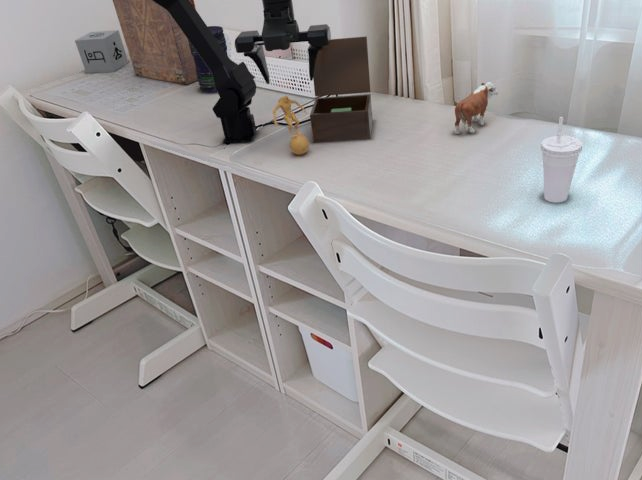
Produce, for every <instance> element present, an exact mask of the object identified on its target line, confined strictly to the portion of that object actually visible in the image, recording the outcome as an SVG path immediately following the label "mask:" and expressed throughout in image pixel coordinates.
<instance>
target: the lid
mask: <svg viewBox="0 0 642 480" xmlns="http://www.w3.org/2000/svg"><path fill="white" fill-rule="evenodd" d="M312 81H313V89H314V90H313V91H314V97H329V96H342V95H356V94H369V93H371V77H370V65H369V49H368V36H366V35H365V36H354V37H344V38H342V37H341V38H331V39H330V42H329V45H326V46H324V47H323V49H322V50H319V51H318V54H317V58H316V63H315V69H314V75H313V80H312Z"/></svg>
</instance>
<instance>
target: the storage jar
mask: <svg viewBox="0 0 642 480" xmlns="http://www.w3.org/2000/svg"><path fill="white" fill-rule="evenodd" d="M207 27H208V28H209V30H210V31H211V33H212V34H213V35H214V37H215V38H216V40H217V41H218V43H219V44H220V46H221V47H222V49H223V50H224V51H225V53H226V54H227V56H228V57H229V55H228V45H227V40H226V37H225V33H224V28H223V26H219V25H210V26H208V25H207ZM188 42H189V47H190V50H191V54H192V56H193V58H194V62H195V66H196V75H197V82H198V85H199V90H200V92H201V93H204V94H218V93H217V91H216V89H215V85H214V81H213V76H212V73H211V71H210V70H209V68H208V67H207V65H206V64H205V63H204V61H203V60H202V58H201V57H200V56H199V54H198V53H197V51H196V50H195V49H194V47H193V46H192V44H191V43H190V41H189V40H188Z"/></svg>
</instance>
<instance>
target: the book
mask: <svg viewBox="0 0 642 480" xmlns="http://www.w3.org/2000/svg"><path fill="white" fill-rule="evenodd" d="M189 1H190V2H191V4H192V5H193V6H194V8H195V9H196V10H197V8H196V4H195V0H189ZM112 2H113V6H114V9H115V13H116V16H117V19H118V22H119V25H120V29H121V32H122V37H123V39H124V42H125V45H126V48H127V51H128V55H129V58H130V61H131V65H132V67H133V71H134V74H135V76H136V77H141V78H142V77H143V78H148V79H153V80H159V81H165V82H168V83H169V82H170V83H176V84H181V85H190V84H193V83H194V82H198V80H197V75H196V66H195V62H194V58H193V56H192V54H191V50H190V47H189V42H188V39H187V37H186V36H185V34H184V33H183V32H182V30H181V29H180V27H179V26H178V25H177V23H176V22H175V20H174V19H173V18H172V16H171V15H170V13H169V12H168V11H167V10H166V9H164V8H163V7H161V6H160V5H158V4H157V3H155V2H154V1H152V0H112Z"/></svg>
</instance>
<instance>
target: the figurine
mask: <svg viewBox="0 0 642 480" xmlns="http://www.w3.org/2000/svg"><path fill="white" fill-rule="evenodd" d="M292 104H296V105H297V107H299V108H300V109H301V110H303V112H304V113H305V114H307V111H306V110H305V108H304V107H303V106H302V105H301V104H300V103H299V102H298V101H297V100H294V99H291V98H289V96H288V95H285V96H282V97H279V98H278V100H277V104H276V105H275V106H274V108H273V109H272V115H273V121H274V127H279V122H278V121H277V114H276V112H277V111H278V110H279V109H281V110H282V112H283V113H284V115H283V116H282V117H283V120H284V121H285V122H286V124H287V125H288V131H289V133H290V135H291V139H290V140H289V148H290V151H291V152H292V153H293V154H295V155H298V156H301V155H304V154H306V153H307V151H308V150H309V147H310V142H309V140H308V138H307V137H306V136H305V135H303V134H302V133H301V132H300V131H299V130H298V127H299V124H300V120H299V119H298V118H297V116H296V114H295V112H294V111H292ZM293 123H295V124H294V125H293ZM293 127H294V131H295V133H296V134H294V132H293V130H292V129H293Z"/></svg>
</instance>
